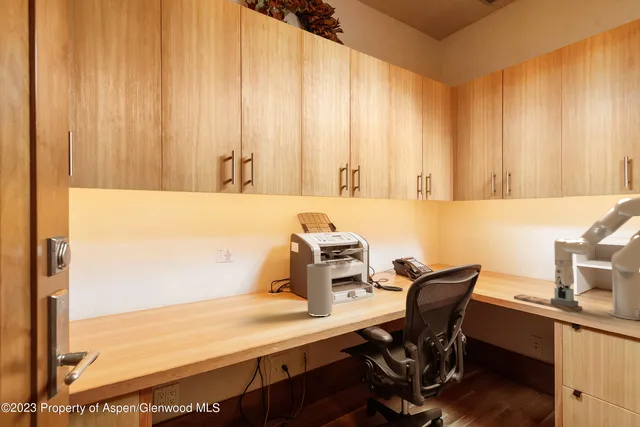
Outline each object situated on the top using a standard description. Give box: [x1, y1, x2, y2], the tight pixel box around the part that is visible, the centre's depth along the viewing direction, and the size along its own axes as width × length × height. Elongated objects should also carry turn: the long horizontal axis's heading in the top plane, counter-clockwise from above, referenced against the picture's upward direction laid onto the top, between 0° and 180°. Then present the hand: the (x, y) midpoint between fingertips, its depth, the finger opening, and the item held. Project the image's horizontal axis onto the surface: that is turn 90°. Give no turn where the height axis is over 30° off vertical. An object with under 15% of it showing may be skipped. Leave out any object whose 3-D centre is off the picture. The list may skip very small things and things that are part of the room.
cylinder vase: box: [306, 262, 333, 315], centre depth 164 cm, size 12×12×25 cm
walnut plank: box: [513, 294, 583, 312], centre depth 176 cm, size 30×8×2 cm, turn 29°
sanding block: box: [550, 286, 579, 308], centre depth 168 cm, size 10×6×8 cm, turn 29°
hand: (564, 297), depth 168 cm, fingers closed on sanding block, 4 cm apart
